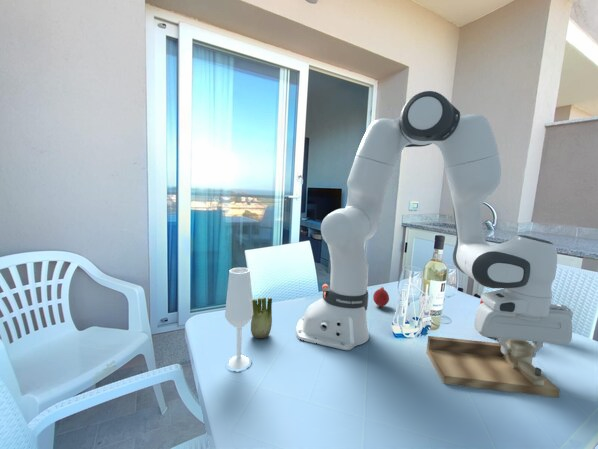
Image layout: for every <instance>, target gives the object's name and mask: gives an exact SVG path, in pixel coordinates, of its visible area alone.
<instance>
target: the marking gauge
mask: <svg viewBox="0 0 598 449" xmlns="http://www.w3.org/2000/svg"><path fill="white" fill-rule="evenodd" d="M506 344H507V345H508V346H509V347H510V348H511V349H512V352H511V355H506V354H503V359H504V360H505V361H506V362H507V363H508V364H509V365H510V366H511V367H512V368H514V369H518V370H519V371H520V372H521V373H522V374H523V375H524V376H525V377H526V378H527V379H528V380H529V381H530V382H531V383H532V384H533V385H540V386H544V381H545V377H546V376H545V375H544V376H545V377H544V376H542V375H541V373H542V369H541V368H540V367H535V366H534V367H535V368H534V367H532V365H533V358H534V357H533V351H534V347H533V346H532V345H531V343H530V342H529V341H525V340H515V339H509V340H508V342H506Z"/></svg>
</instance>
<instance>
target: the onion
mask: <svg viewBox="0 0 598 449" xmlns="http://www.w3.org/2000/svg"><path fill="white" fill-rule="evenodd" d="M372 300H373V302H374V304H376V305H377V307H379V308H382V307H384V306H386V305H387V304H388V303H389V302H390V296H389V293H388V292H387V291H386V289H385V288H384V286H381V287H379V289H376V291H374V293H373V297H372Z"/></svg>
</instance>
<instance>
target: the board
mask: <svg viewBox="0 0 598 449" xmlns="http://www.w3.org/2000/svg"><path fill="white" fill-rule="evenodd" d="M426 355H427V356H428V358H429V359H430V362H431V363H432V365H433V367H434V369H435V371H436V372H437V374H438V376H439V378H440V379H441V381H442V384H444V385H445V384H446V385H453V386H461V387H470V388H475V389H476V388H477V389H484V390H485V389H486V390H493V391H503V392H509V393H517V394H525V395H531V396H532V395H533V396H534V395H536V396H542V397H550V398H558V399H559V397H560V392H561V391H560V390H561V389H560V388H559V387H558V386H557V385H556V384H554V383H553V382H552V381H551V380H550V379H549V378H547V377H546V375H544V374H543V373H542V372H541V375H542V376H544V377H545V381H544V386H540V385H533V384H532V383H531V382H530V381H529V380H528V379H527V378H526V377H525V376H524V375H523V374H522V373H521V372H520V371H519V370H518V369H514V368H512V367H511V366H510V365H509V364H508V363H507V362H506V361H505V360H504V359H503V353H502V352H501V344H500V342H492V341H491V342H490V341H483V340H482V341H481V340H473V339H461V338H455V337H454V338H453V337H452V338H451V337H441V336H435V335H427V344H426ZM532 367H534V368H536V367H535V366H534V364H532Z"/></svg>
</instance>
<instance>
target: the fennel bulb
mask: <svg viewBox="0 0 598 449" xmlns="http://www.w3.org/2000/svg"><path fill="white" fill-rule="evenodd" d="M252 304H253V316H252V318H251V320H250V321H251V322H250V333H251V335H252V337H254V338H255V339H266V338H268V336H269V335H270V333H271V329H272V326H273V324H272V323H273V316H272V314H273V311H272V308H273V307H272V305H273V297H268V298H267V297H261V298H260V297H259V298H252ZM265 337H266V338H265Z"/></svg>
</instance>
